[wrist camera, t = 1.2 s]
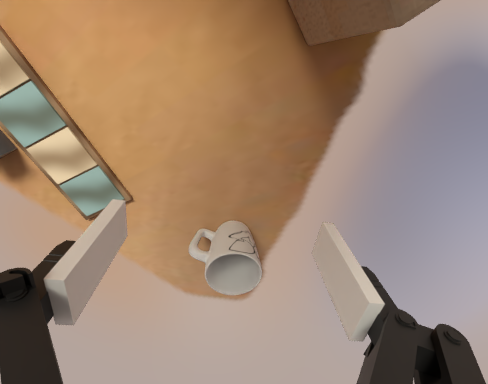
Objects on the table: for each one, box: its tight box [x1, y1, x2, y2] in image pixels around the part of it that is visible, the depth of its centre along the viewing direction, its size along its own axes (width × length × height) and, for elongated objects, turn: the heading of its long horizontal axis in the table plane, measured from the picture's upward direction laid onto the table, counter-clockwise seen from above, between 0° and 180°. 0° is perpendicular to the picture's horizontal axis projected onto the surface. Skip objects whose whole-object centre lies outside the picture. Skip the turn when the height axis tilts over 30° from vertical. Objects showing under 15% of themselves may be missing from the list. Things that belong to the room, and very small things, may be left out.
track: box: [0, 26, 133, 220], centre depth 36 cm, size 27×9×1 cm, turn 25°
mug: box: [189, 221, 262, 295], centre depth 41 cm, size 12×8×10 cm
